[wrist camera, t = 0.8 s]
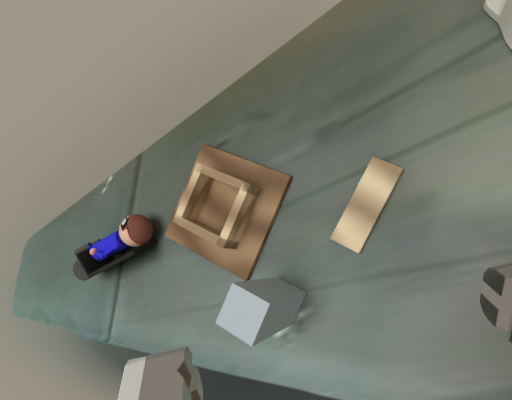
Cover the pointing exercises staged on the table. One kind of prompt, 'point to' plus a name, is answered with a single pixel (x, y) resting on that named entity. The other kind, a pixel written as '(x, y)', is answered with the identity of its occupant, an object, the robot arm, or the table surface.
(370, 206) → the wing slat
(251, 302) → the block
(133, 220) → the character figurine
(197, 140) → the table surface
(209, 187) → the cradle jig
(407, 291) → the table surface
